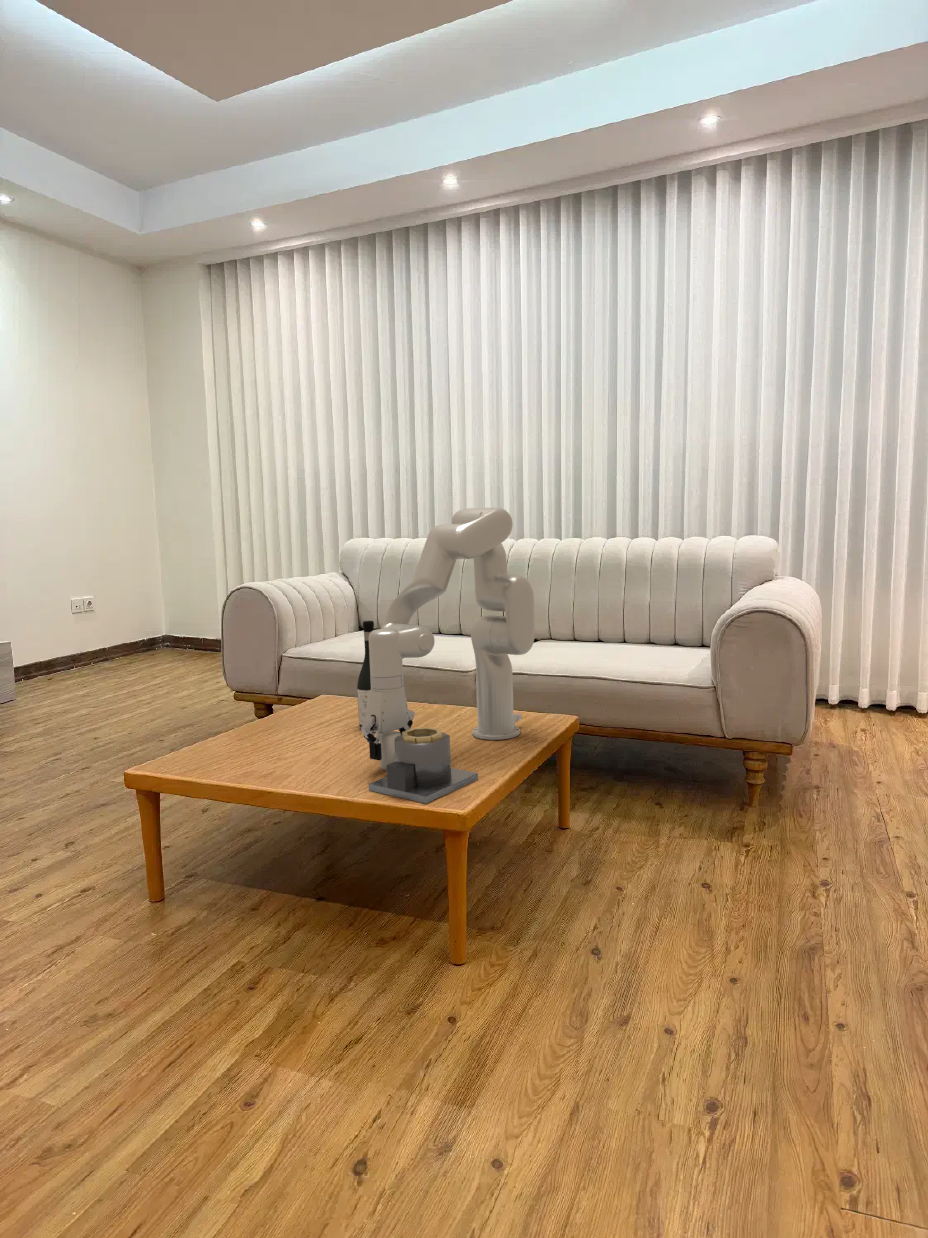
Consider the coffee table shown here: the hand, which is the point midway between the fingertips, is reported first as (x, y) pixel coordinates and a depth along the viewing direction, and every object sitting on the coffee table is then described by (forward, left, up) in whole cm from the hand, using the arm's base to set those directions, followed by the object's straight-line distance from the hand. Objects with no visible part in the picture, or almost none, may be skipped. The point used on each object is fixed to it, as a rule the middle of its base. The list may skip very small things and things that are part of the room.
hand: (390, 754), depth 196 cm
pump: (0, 0, -3) cm, 3 cm away
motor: (+6, +15, -3) cm, 16 cm away
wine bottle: (-25, -29, -3) cm, 39 cm away
